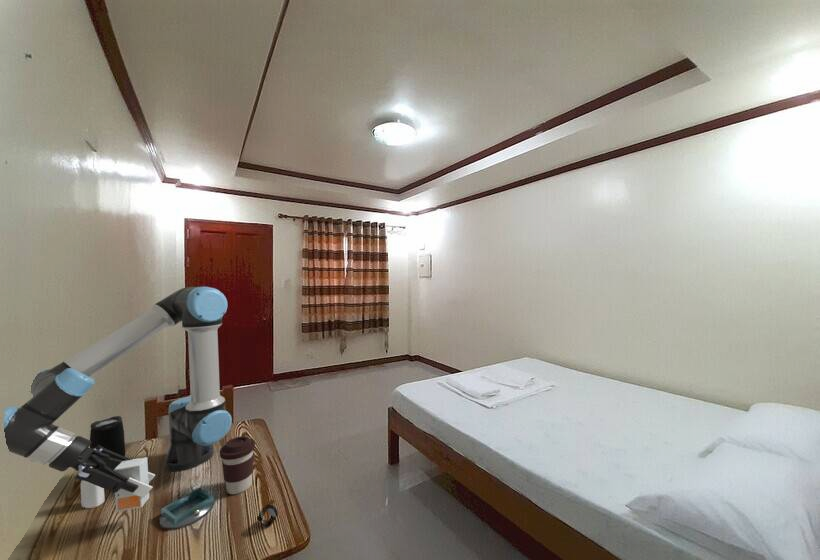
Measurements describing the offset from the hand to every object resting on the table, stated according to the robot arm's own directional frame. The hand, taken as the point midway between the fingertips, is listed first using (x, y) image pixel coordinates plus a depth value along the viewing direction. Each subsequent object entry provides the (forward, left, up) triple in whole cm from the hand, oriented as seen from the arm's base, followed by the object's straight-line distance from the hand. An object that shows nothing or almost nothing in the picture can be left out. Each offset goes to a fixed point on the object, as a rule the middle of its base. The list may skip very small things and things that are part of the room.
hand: (149, 485), depth 89 cm
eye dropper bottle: (-17, -15, -9) cm, 25 cm away
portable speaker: (-32, -14, -9) cm, 36 cm away
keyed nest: (+4, +9, -9) cm, 13 cm away
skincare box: (0, -4, -4) cm, 6 cm away
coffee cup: (+1, +22, -9) cm, 24 cm away
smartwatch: (+23, +27, -9) cm, 36 cm away
